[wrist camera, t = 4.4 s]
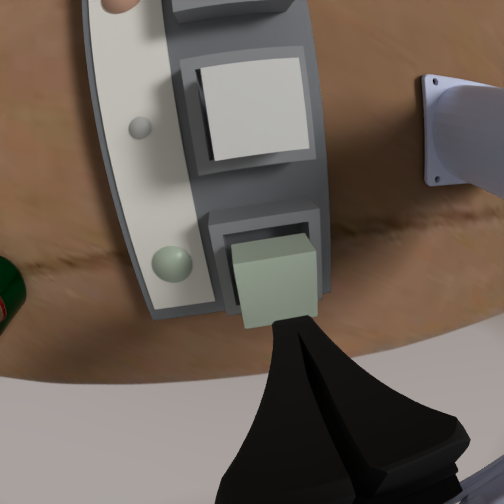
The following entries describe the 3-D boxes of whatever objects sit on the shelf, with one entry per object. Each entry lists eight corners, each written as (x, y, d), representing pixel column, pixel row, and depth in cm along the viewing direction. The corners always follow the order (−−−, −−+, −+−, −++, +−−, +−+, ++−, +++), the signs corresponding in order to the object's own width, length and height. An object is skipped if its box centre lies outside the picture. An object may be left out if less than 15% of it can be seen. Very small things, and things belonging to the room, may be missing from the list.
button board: (282, -63, 11) (297, -94, 7) (322, 276, 22) (341, 311, 18) (92, -29, 11) (67, -53, 7) (157, 303, 22) (147, 342, 18)
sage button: (304, 232, 15) (316, 250, 13) (308, 293, 17) (317, 316, 15) (231, 244, 15) (232, 264, 13) (242, 305, 17) (245, 328, 15)
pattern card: (156, -53, 10) (155, -55, 9) (215, 299, 19) (215, 302, 19) (89, -32, 9) (87, -33, 9) (155, 307, 19) (154, 310, 19)
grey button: (287, 64, 11) (298, 57, 10) (297, 142, 13) (309, 148, 11) (203, 74, 11) (200, 68, 10) (215, 153, 13) (214, 161, 11)
